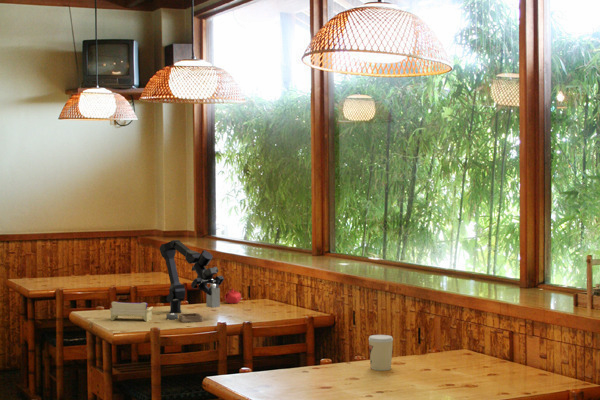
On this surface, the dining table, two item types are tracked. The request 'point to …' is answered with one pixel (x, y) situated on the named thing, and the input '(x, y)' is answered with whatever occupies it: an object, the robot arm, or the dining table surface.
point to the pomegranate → (232, 297)
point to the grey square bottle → (213, 297)
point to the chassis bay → (190, 317)
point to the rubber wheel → (171, 316)
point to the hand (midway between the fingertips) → (214, 294)
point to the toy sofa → (131, 310)
